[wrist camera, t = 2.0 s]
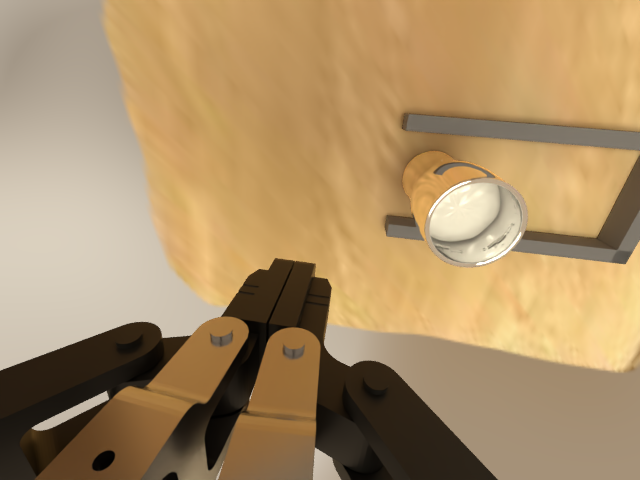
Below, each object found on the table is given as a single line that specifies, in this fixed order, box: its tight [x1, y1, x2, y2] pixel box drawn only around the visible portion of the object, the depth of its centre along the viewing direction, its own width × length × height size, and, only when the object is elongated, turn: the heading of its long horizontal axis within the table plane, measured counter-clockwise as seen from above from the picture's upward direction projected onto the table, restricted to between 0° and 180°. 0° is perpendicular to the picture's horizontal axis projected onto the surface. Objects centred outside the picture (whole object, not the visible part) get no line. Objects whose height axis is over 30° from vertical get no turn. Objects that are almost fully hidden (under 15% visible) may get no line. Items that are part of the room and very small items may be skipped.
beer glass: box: [402, 151, 528, 267], centre depth 27 cm, size 7×7×15 cm
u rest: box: [385, 114, 640, 264], centre depth 31 cm, size 13×26×3 cm, turn 86°
